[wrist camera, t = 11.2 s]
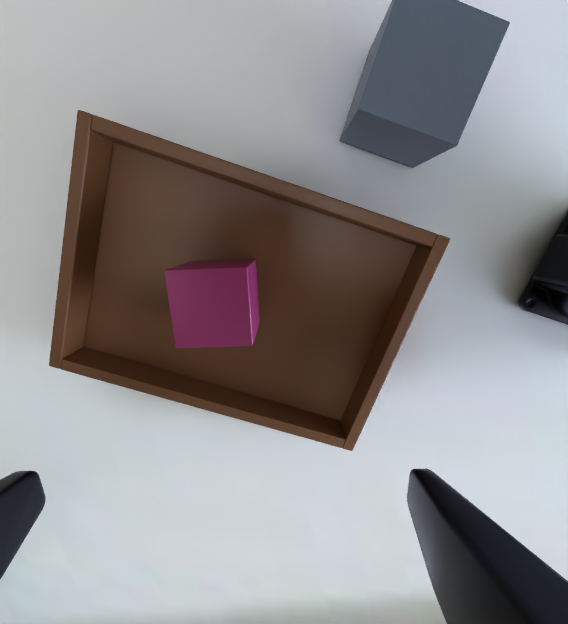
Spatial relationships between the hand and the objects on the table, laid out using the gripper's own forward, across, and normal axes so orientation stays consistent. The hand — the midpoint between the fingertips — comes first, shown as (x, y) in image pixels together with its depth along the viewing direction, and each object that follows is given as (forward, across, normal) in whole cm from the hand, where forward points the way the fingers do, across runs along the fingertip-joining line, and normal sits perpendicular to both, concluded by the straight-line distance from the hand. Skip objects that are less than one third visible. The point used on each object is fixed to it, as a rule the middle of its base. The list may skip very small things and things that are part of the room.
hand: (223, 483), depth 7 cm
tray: (+13, +1, -2) cm, 13 cm away
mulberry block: (+12, +2, -2) cm, 13 cm away
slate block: (+13, -8, -12) cm, 19 cm away
